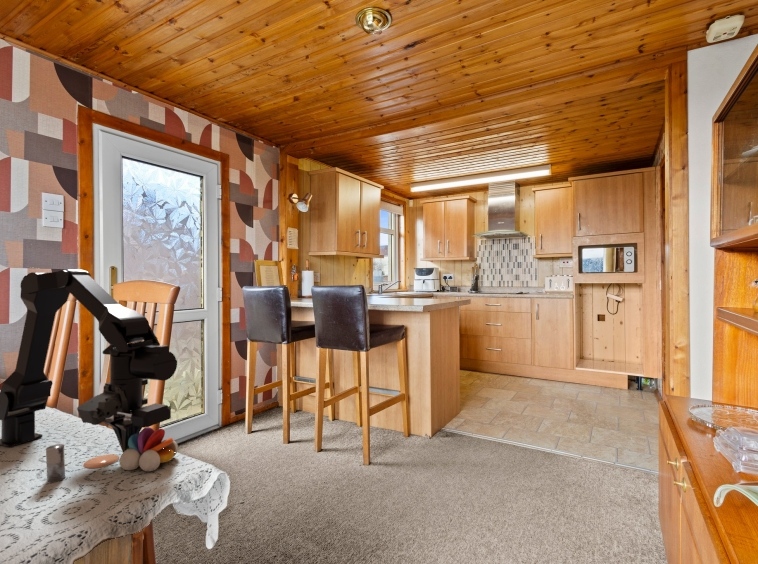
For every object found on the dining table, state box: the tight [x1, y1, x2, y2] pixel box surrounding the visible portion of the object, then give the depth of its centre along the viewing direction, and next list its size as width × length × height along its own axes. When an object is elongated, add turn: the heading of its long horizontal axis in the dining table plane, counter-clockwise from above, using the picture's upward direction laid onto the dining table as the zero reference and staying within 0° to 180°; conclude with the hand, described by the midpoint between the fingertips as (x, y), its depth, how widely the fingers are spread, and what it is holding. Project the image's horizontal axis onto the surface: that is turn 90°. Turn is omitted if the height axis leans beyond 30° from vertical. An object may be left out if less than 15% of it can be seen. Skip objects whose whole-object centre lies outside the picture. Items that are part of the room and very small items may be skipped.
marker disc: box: [82, 454, 120, 469], centre depth 81 cm, size 6×6×1 cm
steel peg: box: [45, 443, 66, 483], centre depth 74 cm, size 3×3×6 cm
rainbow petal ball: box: [119, 426, 179, 472], centre depth 80 cm, size 8×10×7 cm
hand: (126, 452), depth 82 cm, fingers closed
